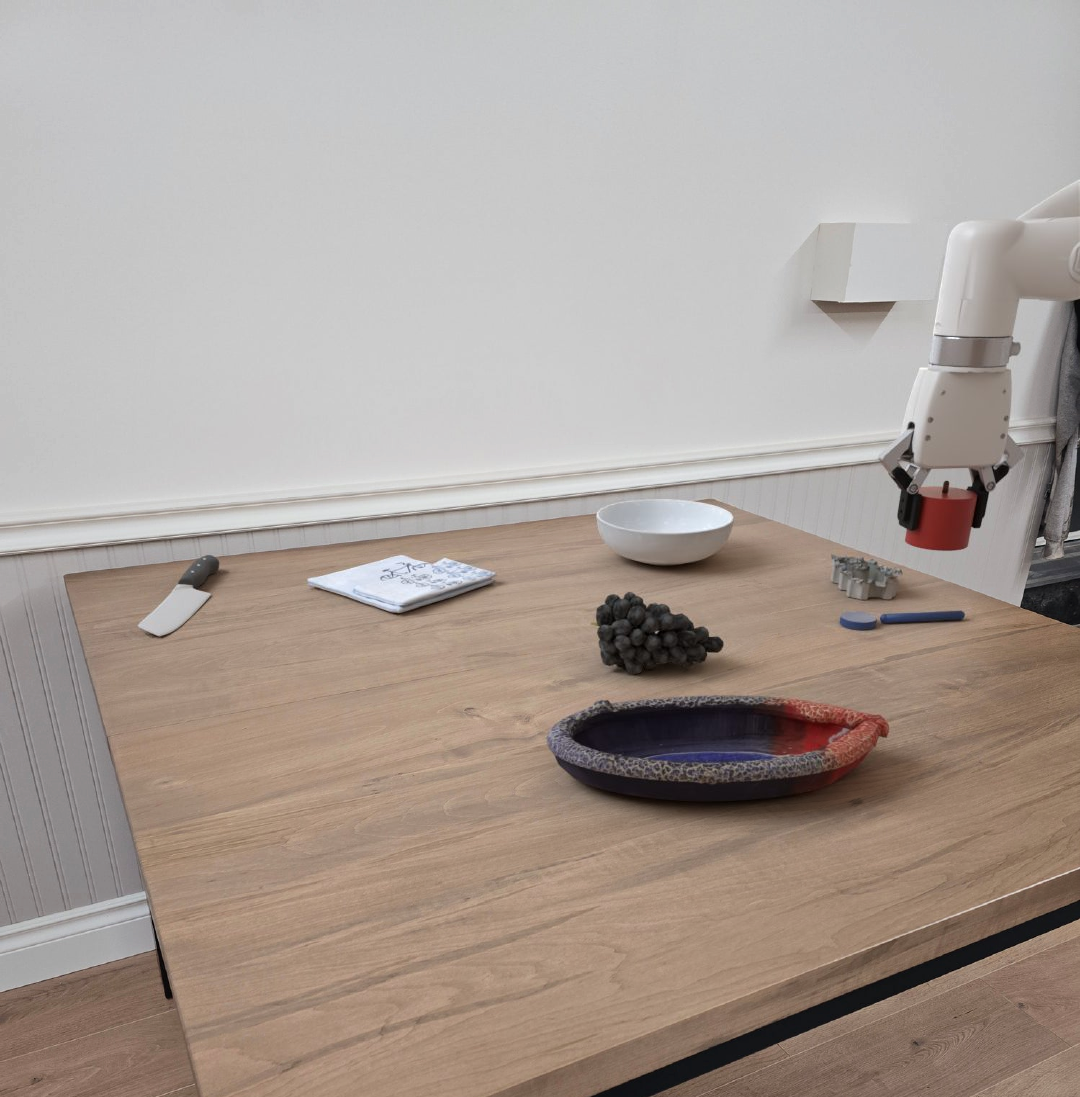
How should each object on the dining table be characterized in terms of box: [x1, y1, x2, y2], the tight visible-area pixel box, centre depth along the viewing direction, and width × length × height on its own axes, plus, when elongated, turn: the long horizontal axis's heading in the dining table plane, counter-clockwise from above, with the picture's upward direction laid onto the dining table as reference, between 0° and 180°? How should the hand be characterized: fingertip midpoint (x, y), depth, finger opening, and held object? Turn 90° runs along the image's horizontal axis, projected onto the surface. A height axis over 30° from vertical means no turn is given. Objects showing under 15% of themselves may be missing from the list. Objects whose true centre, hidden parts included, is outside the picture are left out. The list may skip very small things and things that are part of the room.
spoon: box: [839, 609, 966, 631], centre depth 122 cm, size 16×4×1 cm, turn 96°
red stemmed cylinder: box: [904, 480, 977, 552], centre depth 106 cm, size 7×7×7 cm
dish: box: [546, 694, 890, 802], centre depth 86 cm, size 16×31×5 cm, turn 92°
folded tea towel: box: [307, 554, 498, 614], centre depth 138 cm, size 19×20×2 cm
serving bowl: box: [595, 498, 735, 567], centre depth 149 cm, size 21×21×7 cm
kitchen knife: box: [137, 554, 220, 637], centre depth 132 cm, size 29×3×5 cm
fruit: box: [590, 591, 725, 675], centre depth 108 cm, size 9×8×15 cm
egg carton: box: [830, 554, 904, 601], centre depth 135 cm, size 11×8×4 cm
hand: (939, 525), depth 107 cm, fingers closed on red stemmed cylinder, 6 cm apart
